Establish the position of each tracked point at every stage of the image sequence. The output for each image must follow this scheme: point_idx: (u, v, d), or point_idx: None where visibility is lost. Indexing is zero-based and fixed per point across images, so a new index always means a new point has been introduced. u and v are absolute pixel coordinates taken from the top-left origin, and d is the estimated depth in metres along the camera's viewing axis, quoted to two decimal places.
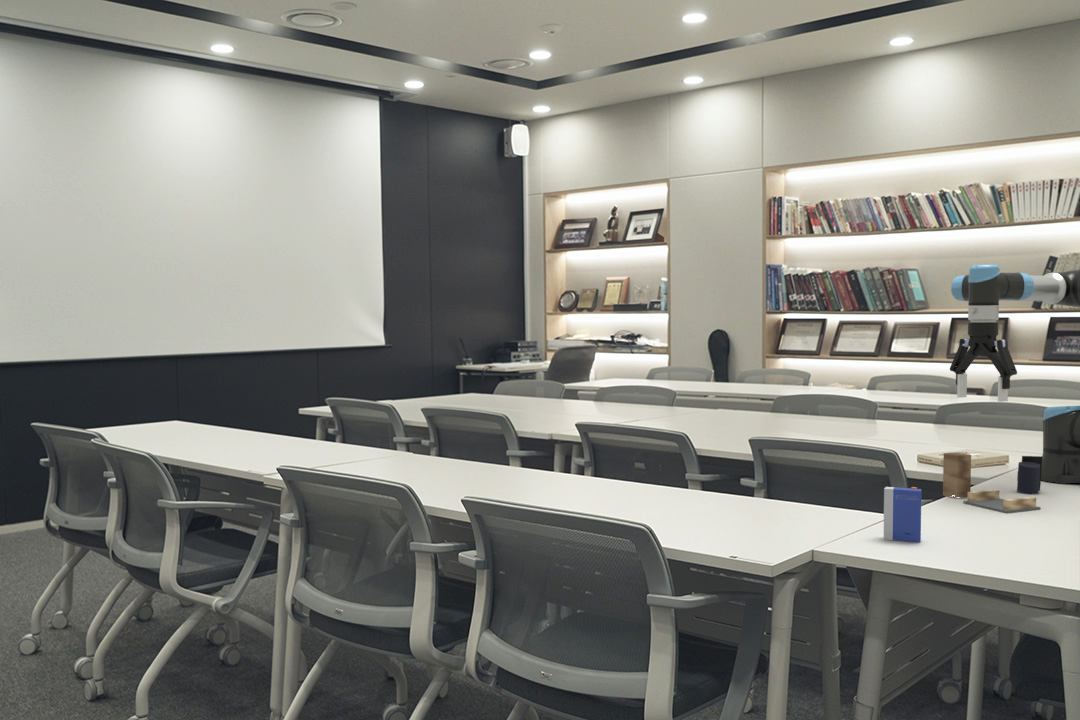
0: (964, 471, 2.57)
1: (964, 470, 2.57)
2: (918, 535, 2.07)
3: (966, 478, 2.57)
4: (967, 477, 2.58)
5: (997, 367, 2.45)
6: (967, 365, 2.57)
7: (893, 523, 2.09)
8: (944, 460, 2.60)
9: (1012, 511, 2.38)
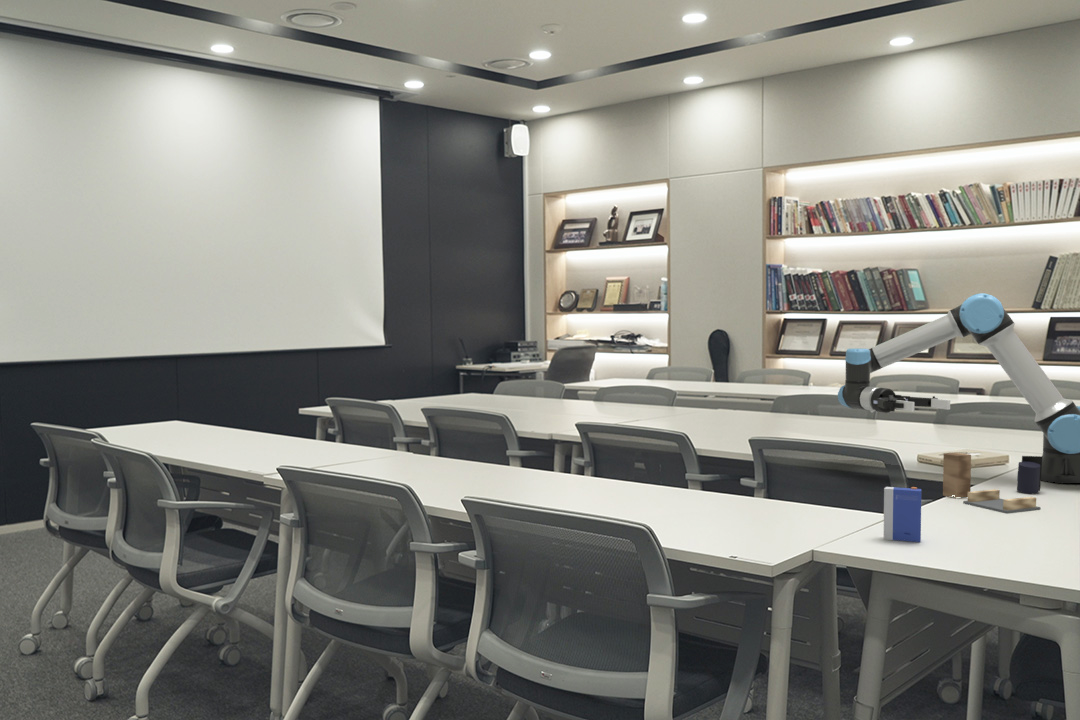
0: (964, 471, 2.57)
1: (964, 470, 2.57)
2: (918, 535, 2.07)
3: (966, 478, 2.57)
4: (967, 477, 2.58)
5: None
6: (922, 401, 2.78)
7: (893, 523, 2.09)
8: (944, 460, 2.60)
9: (1012, 511, 2.38)
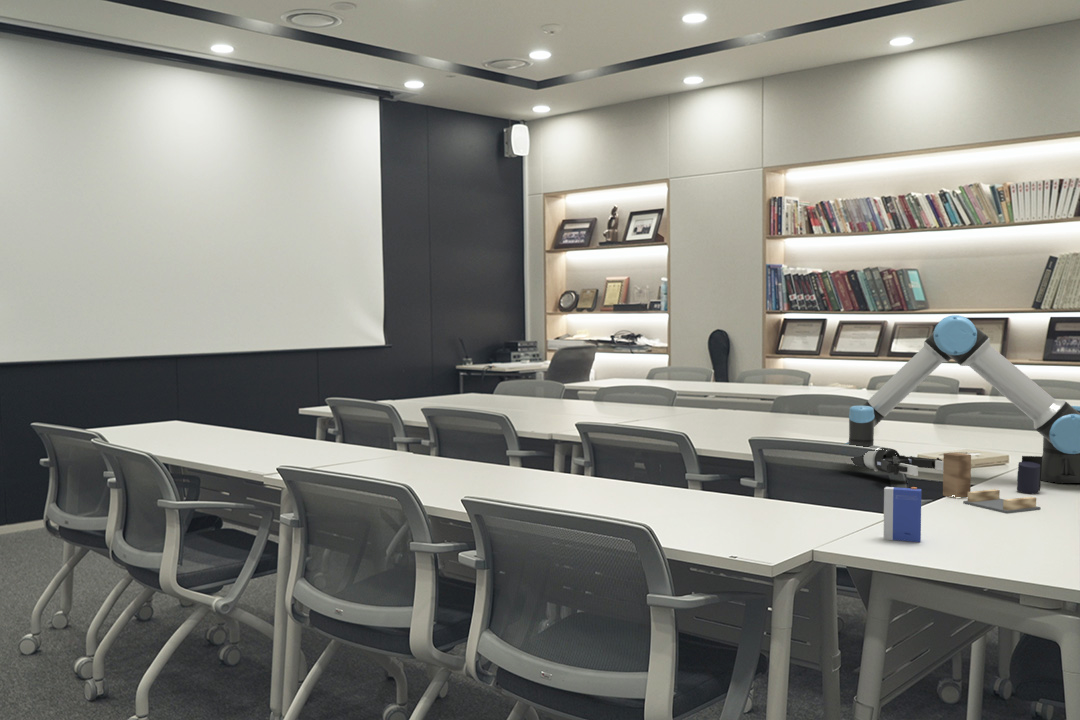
0: (964, 471, 2.57)
1: (964, 470, 2.57)
2: (918, 535, 2.07)
3: (966, 478, 2.57)
4: (967, 477, 2.58)
5: None
6: (926, 462, 2.77)
7: (893, 523, 2.09)
8: (944, 460, 2.60)
9: (1012, 511, 2.38)
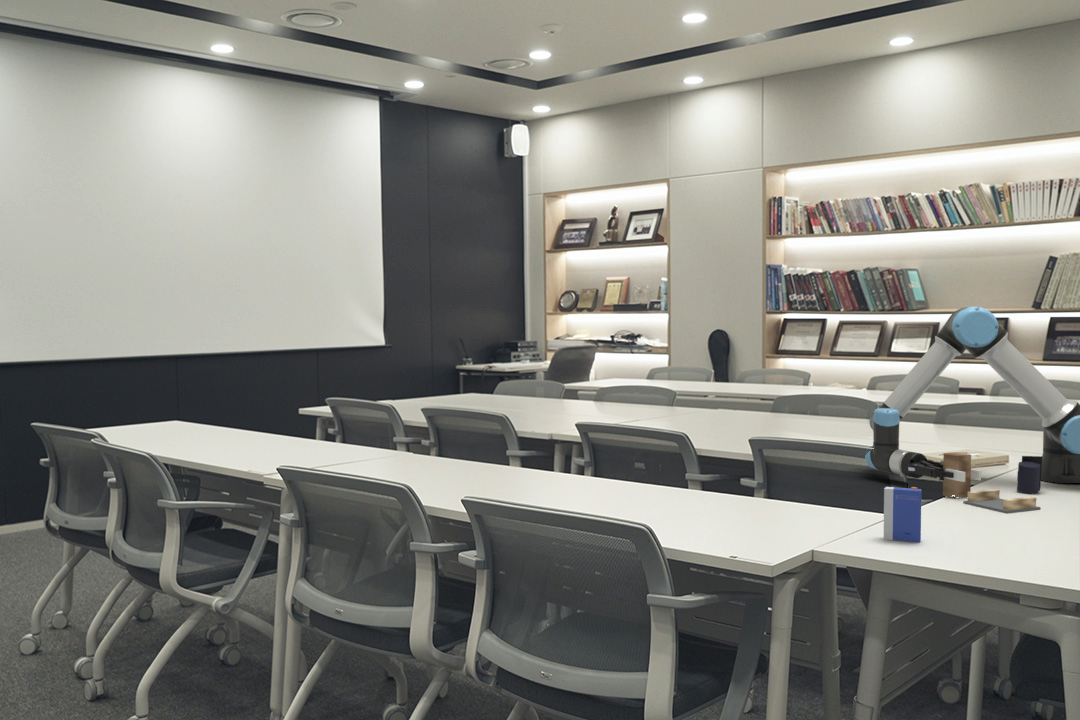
0: (964, 471, 2.57)
1: (964, 470, 2.57)
2: (918, 535, 2.07)
3: (966, 478, 2.57)
4: (967, 477, 2.58)
5: None
6: None
7: (893, 523, 2.09)
8: (944, 460, 2.60)
9: (1012, 511, 2.38)
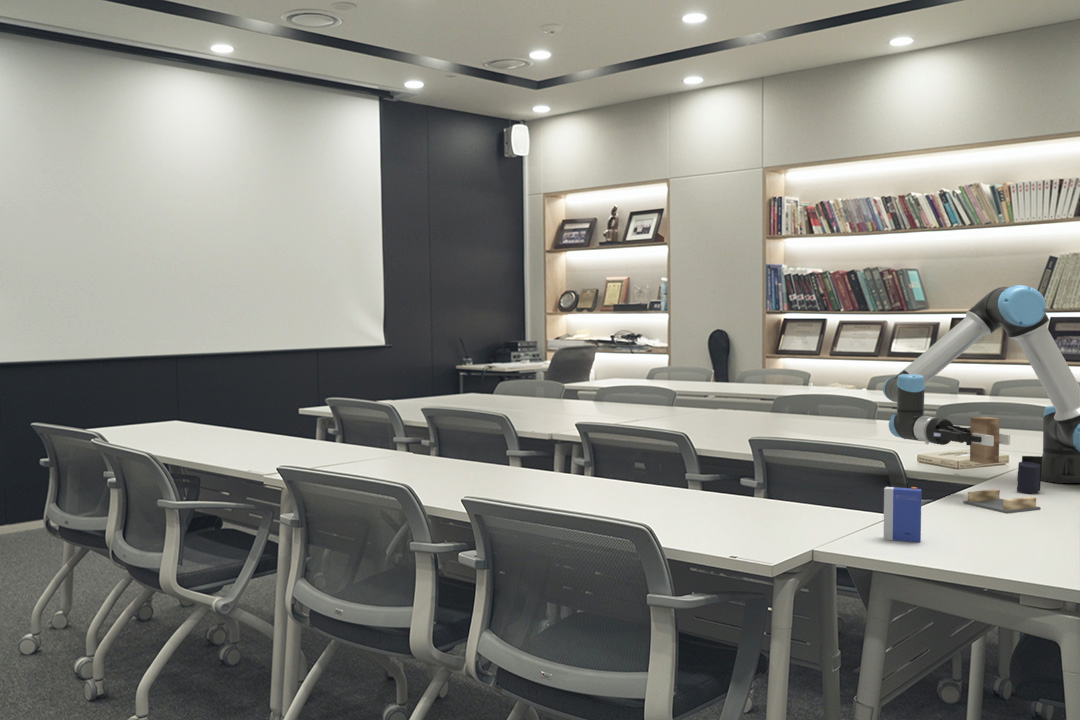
0: None
1: (992, 434, 2.47)
2: (918, 535, 2.07)
3: (994, 443, 2.47)
4: (995, 442, 2.47)
5: None
6: None
7: (893, 523, 2.09)
8: (971, 424, 2.50)
9: (1012, 511, 2.38)
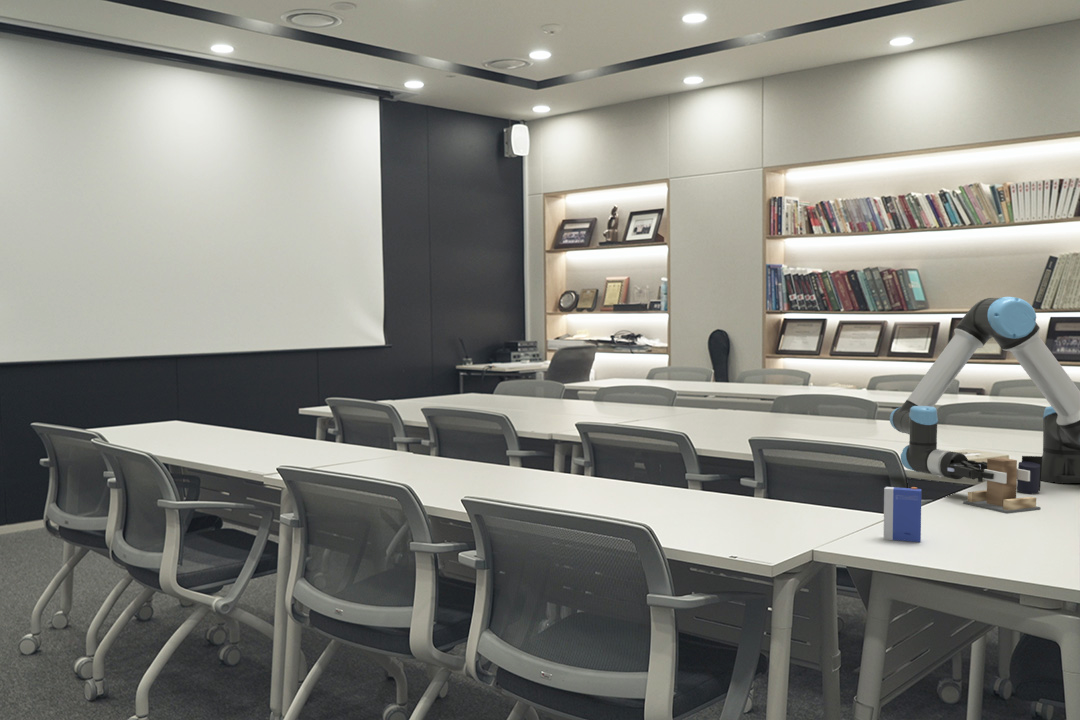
0: (1010, 478, 2.43)
1: (1010, 476, 2.43)
2: (918, 535, 2.07)
3: (1012, 485, 2.44)
4: (1013, 484, 2.44)
5: None
6: None
7: (893, 523, 2.09)
8: (988, 466, 2.46)
9: (1012, 511, 2.38)
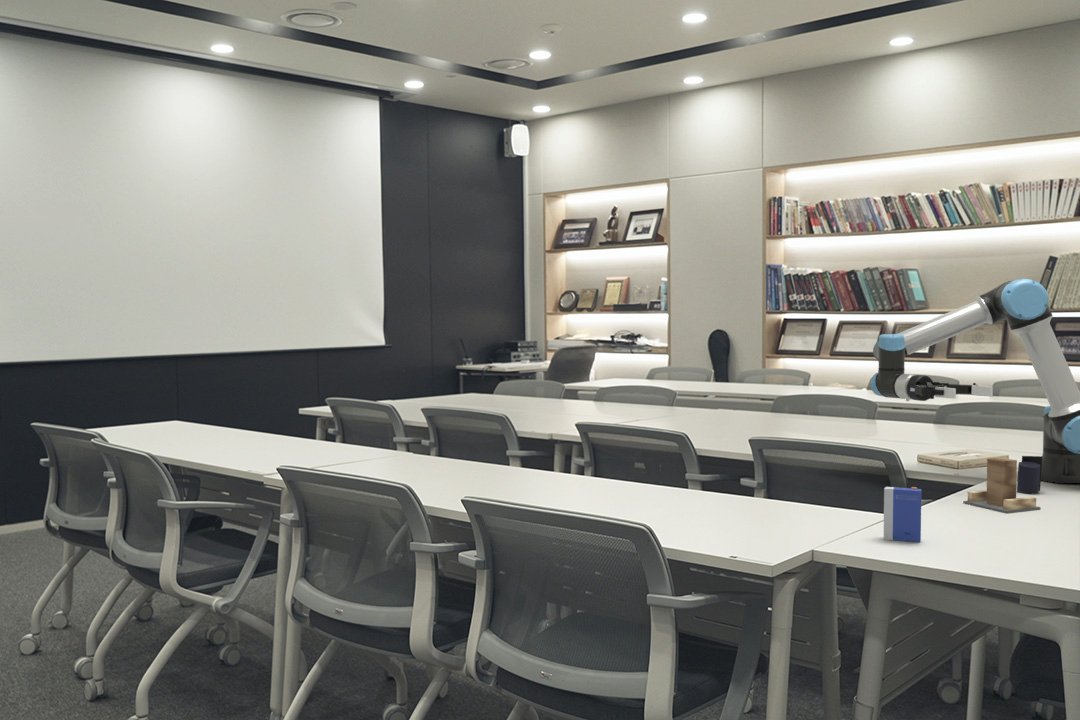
0: (1010, 478, 2.43)
1: (1010, 476, 2.43)
2: (918, 535, 2.07)
3: (1012, 485, 2.44)
4: (1013, 484, 2.44)
5: None
6: (961, 388, 2.64)
7: (893, 523, 2.09)
8: (988, 466, 2.46)
9: (1012, 511, 2.38)
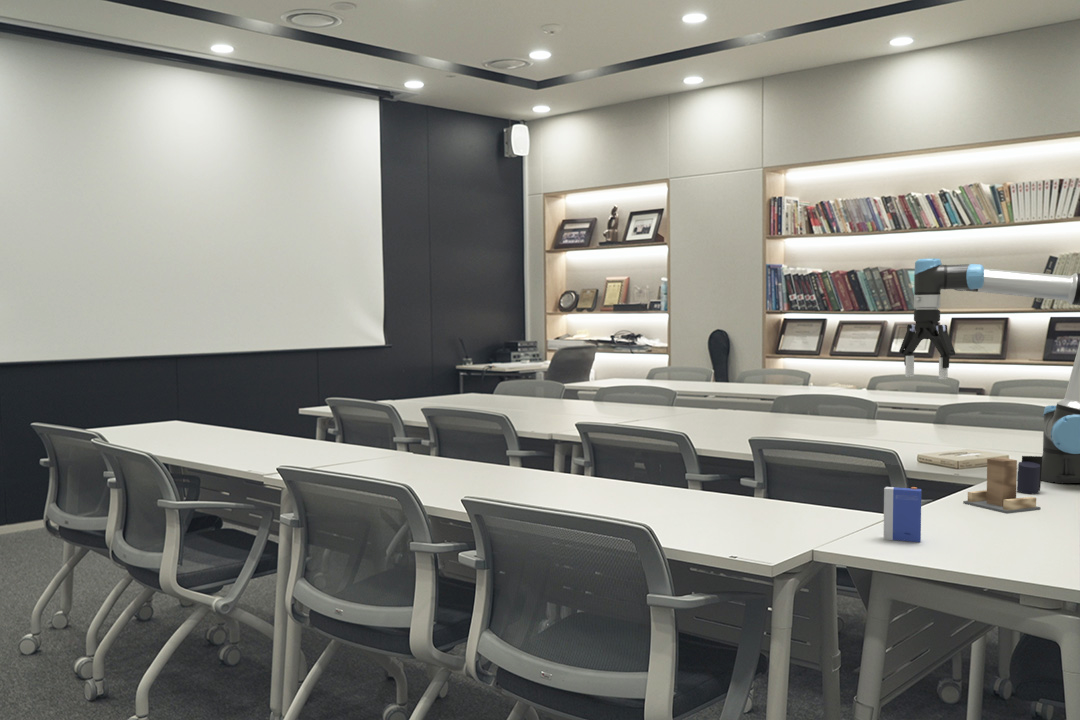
0: (1010, 478, 2.43)
1: (1010, 476, 2.43)
2: (918, 535, 2.07)
3: (1012, 485, 2.44)
4: (1013, 484, 2.44)
5: (938, 349, 2.78)
6: (914, 348, 2.90)
7: (893, 523, 2.09)
8: (988, 466, 2.46)
9: (1012, 511, 2.38)
